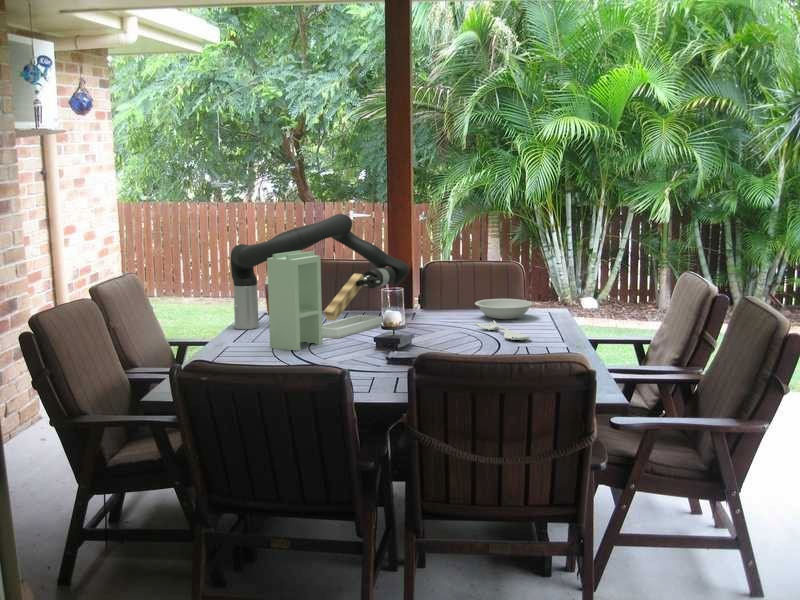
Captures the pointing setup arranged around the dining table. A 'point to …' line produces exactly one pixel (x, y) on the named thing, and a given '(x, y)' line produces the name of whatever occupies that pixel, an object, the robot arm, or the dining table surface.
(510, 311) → the soup bowl
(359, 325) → the tray
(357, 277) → the tan wooden bar
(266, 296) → the smoothie
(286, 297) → the stand
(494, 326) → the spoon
